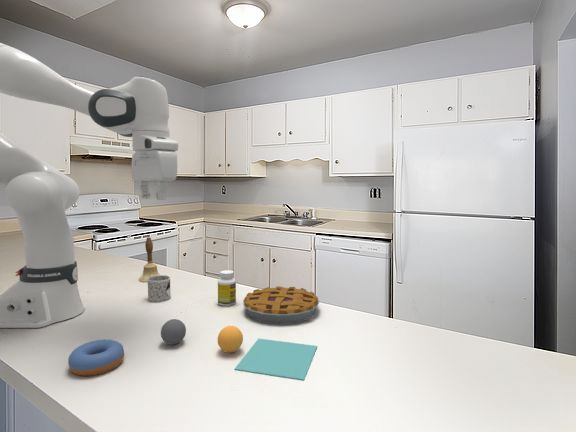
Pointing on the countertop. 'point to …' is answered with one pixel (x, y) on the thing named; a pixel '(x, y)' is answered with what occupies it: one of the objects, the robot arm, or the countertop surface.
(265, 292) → the pie
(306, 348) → the mark
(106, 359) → the doughnut
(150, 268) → the hand bell
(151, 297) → the mug
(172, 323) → the ball
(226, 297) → the supplement bottle
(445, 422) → the countertop surface
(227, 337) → the ball
